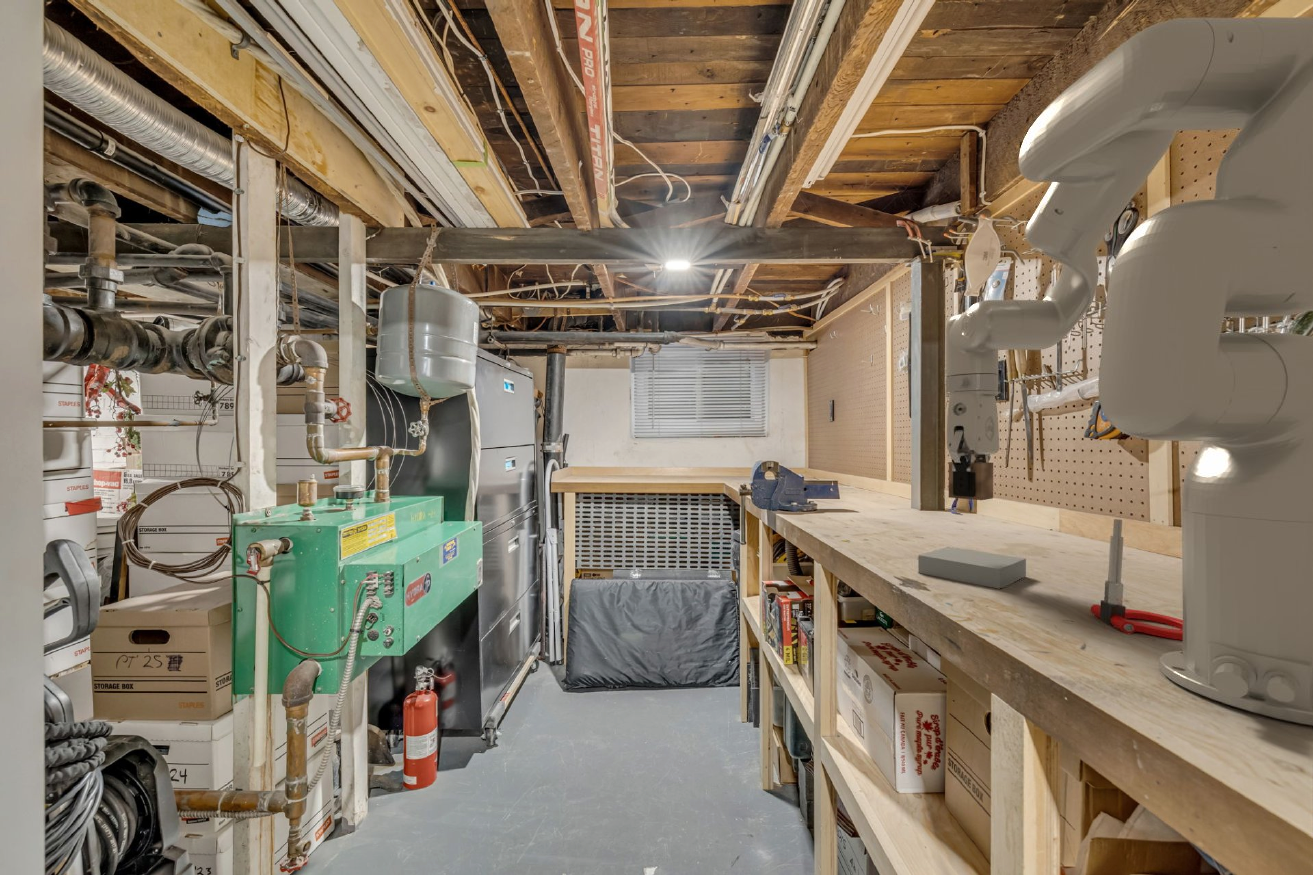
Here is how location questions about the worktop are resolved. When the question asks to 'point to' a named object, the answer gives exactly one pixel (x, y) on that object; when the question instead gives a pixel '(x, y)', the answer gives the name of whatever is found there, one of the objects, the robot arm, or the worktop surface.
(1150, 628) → the red and grey piece
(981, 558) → the base slab
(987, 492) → the walnut block
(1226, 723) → the worktop surface
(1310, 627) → the robot arm
